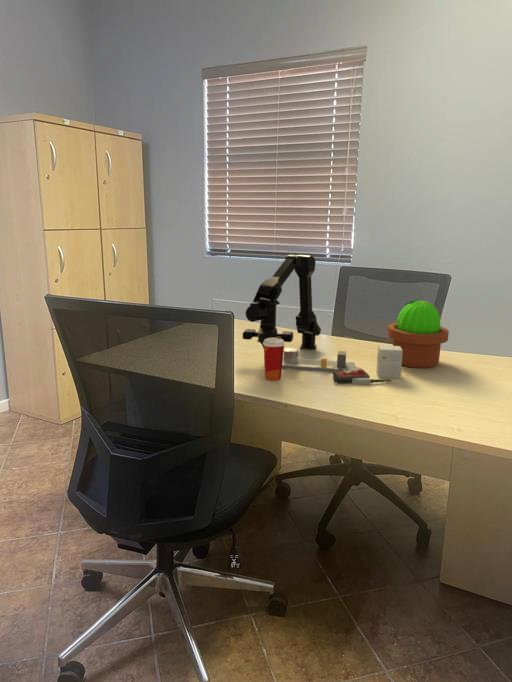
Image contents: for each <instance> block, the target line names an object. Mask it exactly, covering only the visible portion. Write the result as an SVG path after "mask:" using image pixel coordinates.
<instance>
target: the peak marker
mask: <svg viewBox="0 0 512 682" xmlns="http://www.w3.org/2000/svg"><path fill="white" fill-rule="evenodd" d="M320 360H321V367H326V366H327V361H328V357H327V356H326V357H325V356H321V359H320Z"/></svg>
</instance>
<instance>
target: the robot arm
mask: <svg viewBox="0 0 512 682" xmlns="http://www.w3.org/2000/svg"><path fill="white" fill-rule="evenodd" d="M315 270H316V259H315V257H314V256H313V255H305V254H288V255H286V256H285V259H284V261H283V262H282V263H281V265H280V266H279V267H278V268H277V270H276V271H275V272H274V273H273V275H272V276H271V277H270V278H268V279H266V280H264V281H263V282H262V283H261V284H260V285H259V286H258V289H257V291H256V294H255V296H254V298H253V301H252V302H251V303H249V306H248V307H247V309H246V310H245V317H246V319H247V320H248V322H251V323H253V322H257V321H260V324H259V328H258V331H257V330H256V329H252V328H246V329H244V331H243V332H242V339H243V340H252V339H253V338H257V343H260V344H261V346H262V348H263V349H264V345H263V342H264V340H265V339H267V338H279V339H281V340H282V339H283V340H284V343H292V341H293V339H294V333H293V331H287V330H286V331H285V330H283V331H282V332H281V333H278V328H277V305H280V302H279V300H278V299H279V297H280V295H282V292H283V286H284V284H285V282H286V281H287V279H289V277H290V276H291V274H292V273H293V272H295V274H296V276H297V277H298V287H299V313H298V314H297V315H296V316H295V326H296V331H297V333H298V334H301V344H300V347H299V349H300V350H315V351H316V348H317V344H316V338H317V336H319V335H321V332H322V329H321V327H320V325H319V323H318V322H317V321H318V319H317V316H316V314H315V312H314V311H313V298H312V297H313V296H312V295H313V293H312V292H313V291H312V276H313V274H314V273H315Z"/></svg>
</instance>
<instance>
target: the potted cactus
mask: <svg viewBox="0 0 512 682" xmlns="http://www.w3.org/2000/svg"><path fill="white" fill-rule="evenodd" d="M439 311H440V310H437V306H436V307H435V305H434V304H432V303H431V302H429V301H428V300H426V301H425V300H424V299H420V300H419V299H415V300H410V301H409V302H407V303H405V304H404V306H403V307H402V309H401V310H400V312H399V313H398V315H397V320H396V321H395V322H394V323H390V324H388V326H387V336H388V337H389V338H390V339H392V346H400V347H401V349H402V350H403V353H402V365H401V366H404V367H408V368H413V369H414V368H415V369H417V368H418V369H421V368H422V369H423V368H424V369H425V368H432V367H435V366H437V365H439V364H440V363H439V362H440V354H441V346H442V344H444V343H446V342H448V340H449V334H450V333H449V332H450V331H449V329H448V328H446V327H443V326H441V321H442V318H440V317H441V316H440V314H439Z"/></svg>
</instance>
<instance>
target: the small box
mask: <svg viewBox="0 0 512 682" xmlns="http://www.w3.org/2000/svg"><path fill="white" fill-rule="evenodd" d="M402 353H403V350H402V349H401V347H400V346H393V345H378V346H377V358H376V375H377V377H378V378H381V379H401V376H402V366H403V365H402Z"/></svg>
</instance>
